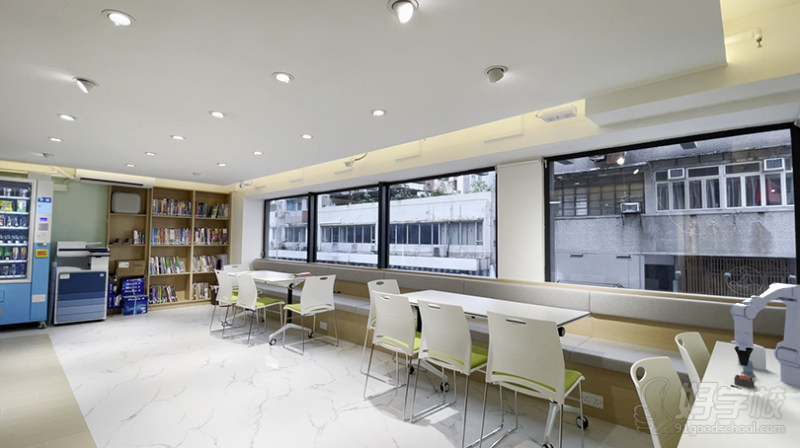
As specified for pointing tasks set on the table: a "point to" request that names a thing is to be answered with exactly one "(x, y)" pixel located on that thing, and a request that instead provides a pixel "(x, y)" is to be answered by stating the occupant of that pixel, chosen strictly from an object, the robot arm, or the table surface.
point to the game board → (744, 381)
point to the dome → (744, 377)
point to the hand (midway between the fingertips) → (744, 364)
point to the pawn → (748, 370)
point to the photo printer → (757, 357)
